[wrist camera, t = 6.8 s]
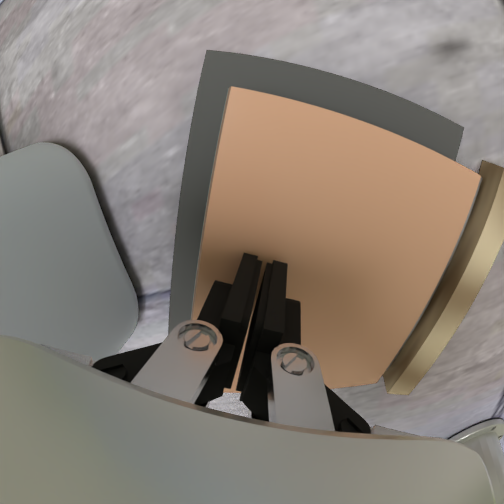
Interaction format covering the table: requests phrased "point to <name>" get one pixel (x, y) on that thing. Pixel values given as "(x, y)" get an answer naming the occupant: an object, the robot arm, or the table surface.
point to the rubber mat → (292, 87)
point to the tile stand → (454, 285)
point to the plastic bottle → (59, 257)
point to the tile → (332, 225)
